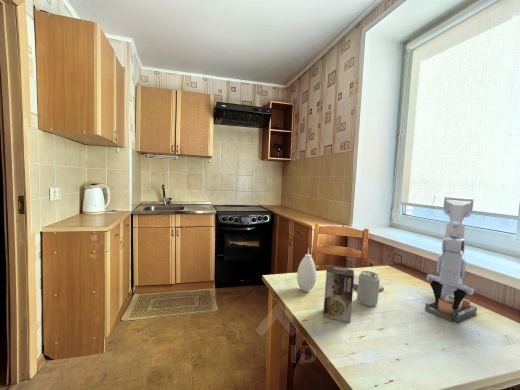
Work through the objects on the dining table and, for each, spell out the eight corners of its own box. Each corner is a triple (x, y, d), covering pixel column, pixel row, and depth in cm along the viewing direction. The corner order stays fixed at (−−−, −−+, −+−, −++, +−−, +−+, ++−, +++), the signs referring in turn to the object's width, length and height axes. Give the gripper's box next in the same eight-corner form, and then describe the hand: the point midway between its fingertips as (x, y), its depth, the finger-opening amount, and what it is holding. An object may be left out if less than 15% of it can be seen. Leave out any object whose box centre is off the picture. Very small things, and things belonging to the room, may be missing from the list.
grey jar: (448, 306, 102) (450, 292, 101) (463, 312, 97) (465, 298, 97) (442, 308, 99) (444, 294, 99) (457, 315, 95) (459, 300, 95)
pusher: (448, 303, 104) (449, 292, 104) (470, 311, 98) (471, 300, 97) (445, 304, 103) (446, 293, 103) (467, 312, 97) (469, 301, 96)
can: (379, 309, 95) (382, 277, 95) (358, 305, 97) (361, 275, 96) (374, 300, 103) (377, 271, 102) (355, 297, 104) (357, 268, 103)
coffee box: (350, 314, 90) (354, 269, 89) (350, 323, 84) (354, 275, 83) (323, 308, 93) (327, 265, 92) (322, 317, 87) (326, 270, 86)
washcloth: (350, 277, 128) (351, 271, 128) (385, 291, 113) (385, 284, 113) (335, 281, 121) (335, 275, 121) (369, 296, 107) (370, 289, 106)
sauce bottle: (317, 295, 104) (320, 251, 102) (298, 294, 103) (301, 250, 102) (311, 287, 111) (315, 246, 110) (294, 286, 111) (297, 245, 110)
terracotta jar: (440, 309, 99) (441, 295, 98) (455, 315, 95) (457, 300, 94) (434, 312, 96) (436, 298, 96) (450, 318, 92) (452, 303, 91)
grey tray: (445, 301, 106) (446, 295, 106) (476, 313, 97) (477, 307, 97) (424, 309, 97) (424, 303, 97) (455, 323, 88) (456, 316, 88)
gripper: (424, 264, 99) (420, 298, 99) (469, 278, 86) (464, 317, 87) (433, 262, 102) (429, 295, 103) (478, 275, 90) (473, 313, 90)
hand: (446, 305), depth 95 cm, fingers open, 5 cm apart
